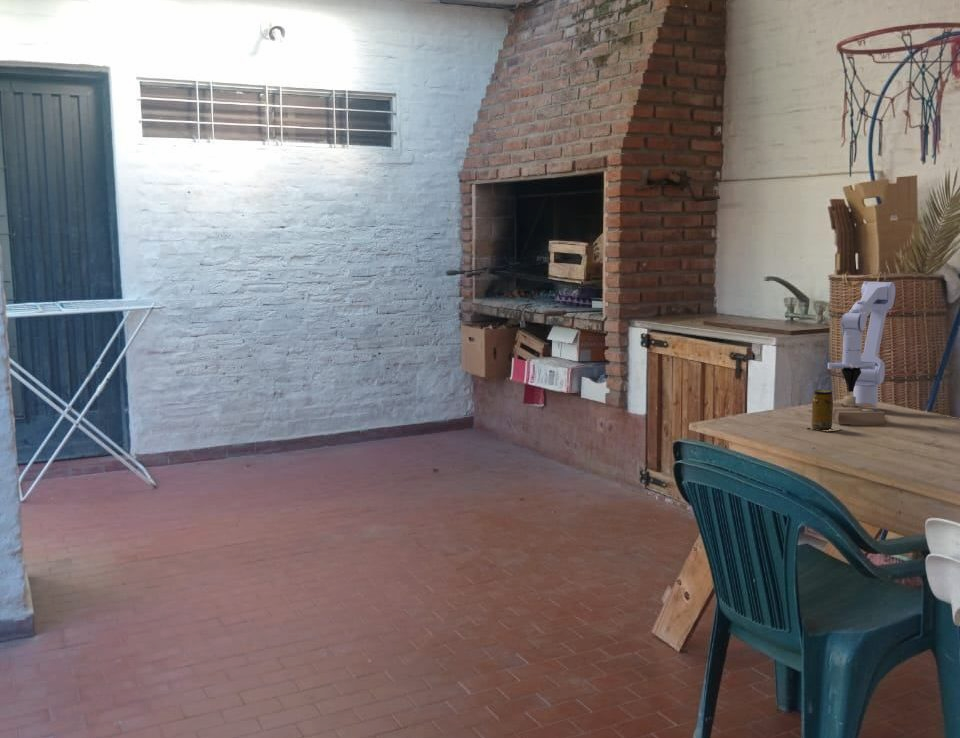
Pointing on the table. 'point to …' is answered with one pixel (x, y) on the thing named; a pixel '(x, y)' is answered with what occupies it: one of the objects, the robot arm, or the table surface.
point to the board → (858, 414)
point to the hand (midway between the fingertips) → (850, 391)
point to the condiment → (822, 410)
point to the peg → (849, 401)
